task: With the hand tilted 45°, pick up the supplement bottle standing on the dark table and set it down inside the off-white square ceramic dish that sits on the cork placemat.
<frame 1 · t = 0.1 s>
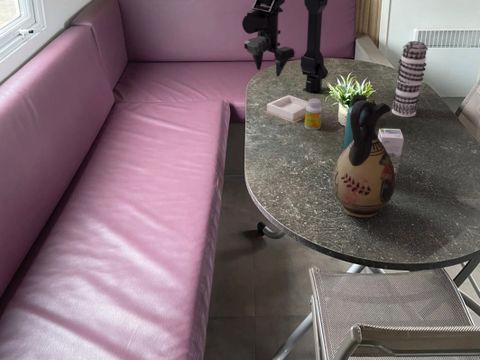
hand: (268, 73, 175), 14 cm above the table, tool pointing down, fingers open, 9 cm apart
supplement bottle: (312, 127, 172), on the table
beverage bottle: (352, 158, 153), on the table
ceramic jug: (357, 209, 130), on the table
dish: (290, 111, 182), resting on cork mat
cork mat: (291, 112, 182), on the table
syrup box: (383, 179, 143), on the table
white banded cylinder: (403, 112, 183), on the table
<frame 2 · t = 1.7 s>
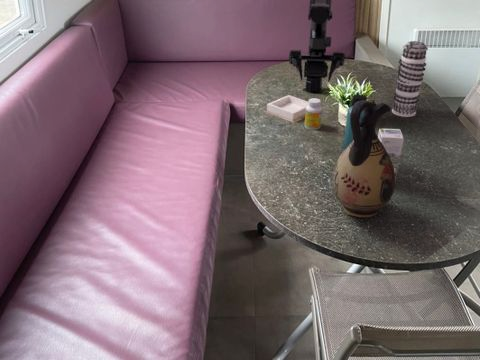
hand: (315, 81, 172), 13 cm above the table, tool tilted 45°, fingers open, 9 cm apart
nothing on the table moved.
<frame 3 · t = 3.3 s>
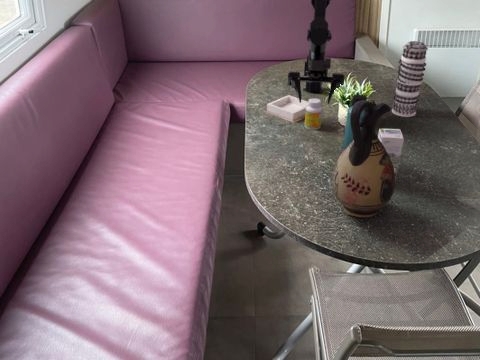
hand: (314, 103, 168), 8 cm above the table, tool tilted 45°, fingers open, 9 cm apart
nothing on the table moved.
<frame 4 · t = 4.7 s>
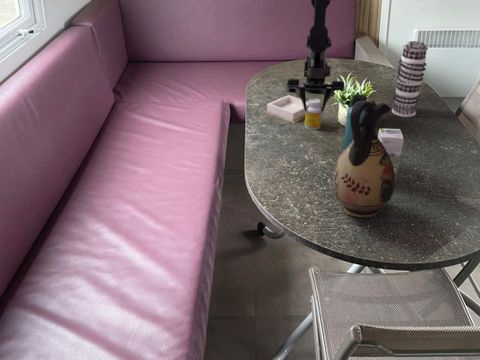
hand: (313, 110, 167), 7 cm above the table, tool tilted 45°, fingers closed on supplement bottle, 5 cm apart
supplement bottle: (312, 127, 172), on the table, touching gripper
everything else where it was.
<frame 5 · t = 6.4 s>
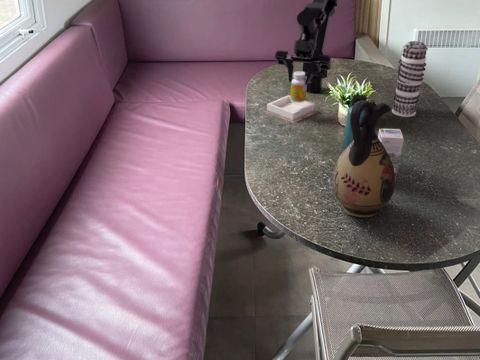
hand: (298, 83, 170), 13 cm above the table, tool tilted 45°, fingers closed on supplement bottle, 5 cm apart
supplement bottle: (298, 100, 175), point 7 cm above the table, touching gripper
everything else where it was.
when the fingers open (9 cm above the table, at t = 8.1 s): supplement bottle stays where it is, resting on dish.
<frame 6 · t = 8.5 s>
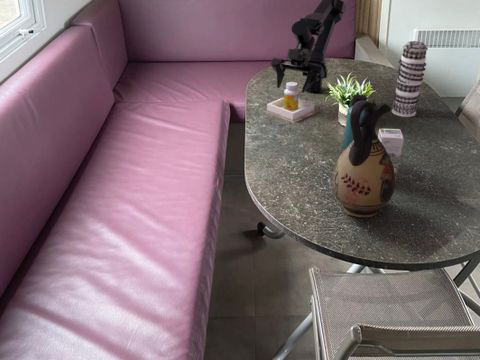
hand: (290, 90, 176), 9 cm above the table, tool tilted 45°, fingers open, 9 cm apart
supplement bottle: (290, 109, 182), point 1 cm above the table, touching dish
everything else where it was.
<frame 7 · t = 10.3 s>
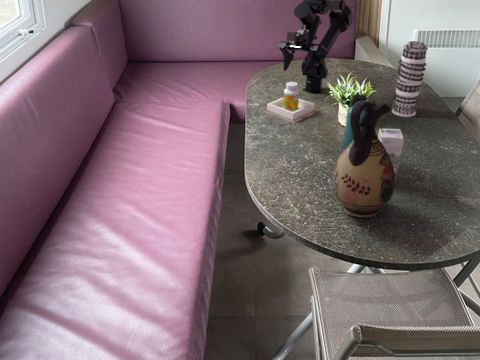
hand: (294, 71, 181), 13 cm above the table, tool tilted 35°, fingers open, 9 cm apart
nothing on the table moved.
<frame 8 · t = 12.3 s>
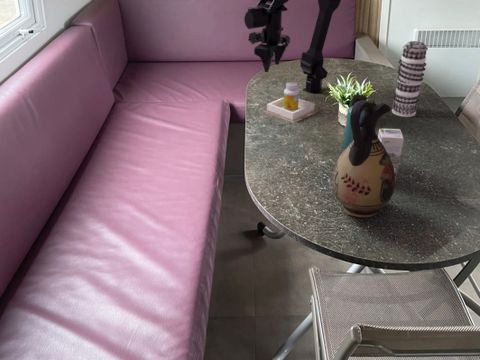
hand: (271, 68, 184), 13 cm above the table, tool pointing down, fingers open, 9 cm apart
nothing on the table moved.
at the end: supplement bottle inside the target area on the dish (0.2 cm from its centre), point 0.6 cm above the dish's base; supplement bottle tilted 0°; the gripper is holding nothing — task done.
